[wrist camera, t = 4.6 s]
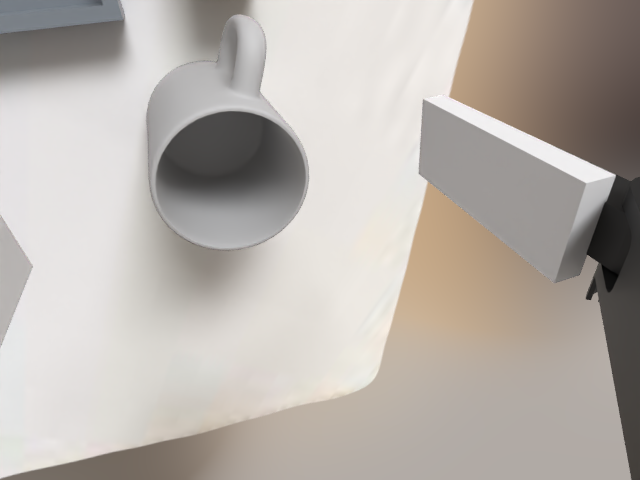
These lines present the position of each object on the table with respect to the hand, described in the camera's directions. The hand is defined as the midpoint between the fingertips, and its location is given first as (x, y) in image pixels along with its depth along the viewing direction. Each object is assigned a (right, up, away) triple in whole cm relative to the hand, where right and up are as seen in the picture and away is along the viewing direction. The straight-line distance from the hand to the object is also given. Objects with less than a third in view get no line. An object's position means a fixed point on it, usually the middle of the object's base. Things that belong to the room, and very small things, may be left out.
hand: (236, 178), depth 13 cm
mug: (-5, +8, +17) cm, 19 cm away
